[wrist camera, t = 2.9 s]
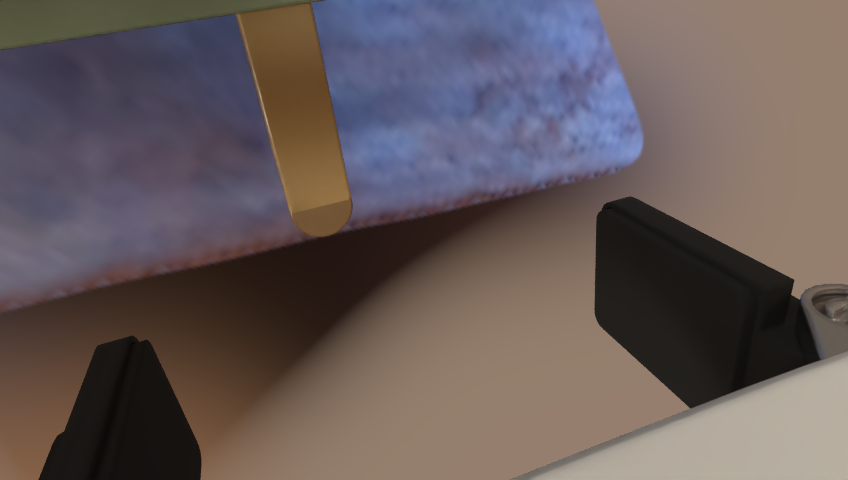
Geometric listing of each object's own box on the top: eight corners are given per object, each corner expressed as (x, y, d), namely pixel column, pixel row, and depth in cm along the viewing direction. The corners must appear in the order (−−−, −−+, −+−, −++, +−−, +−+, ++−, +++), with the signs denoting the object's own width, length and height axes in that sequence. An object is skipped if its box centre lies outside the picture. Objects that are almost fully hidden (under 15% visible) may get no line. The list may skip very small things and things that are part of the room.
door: (327, 134, 28) (399, 239, 17) (37, 196, 25) (-129, 380, 13) (291, -33, 25) (351, -51, 13) (-56, 15, 21) (-398, 49, 10)
